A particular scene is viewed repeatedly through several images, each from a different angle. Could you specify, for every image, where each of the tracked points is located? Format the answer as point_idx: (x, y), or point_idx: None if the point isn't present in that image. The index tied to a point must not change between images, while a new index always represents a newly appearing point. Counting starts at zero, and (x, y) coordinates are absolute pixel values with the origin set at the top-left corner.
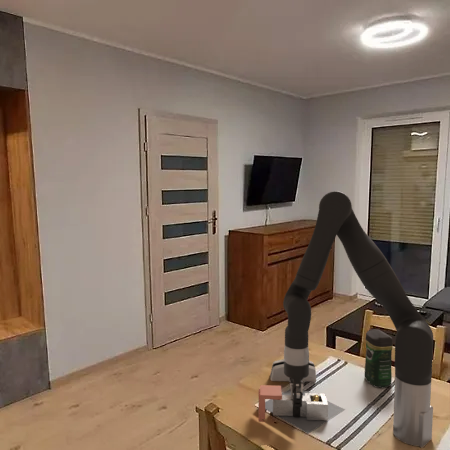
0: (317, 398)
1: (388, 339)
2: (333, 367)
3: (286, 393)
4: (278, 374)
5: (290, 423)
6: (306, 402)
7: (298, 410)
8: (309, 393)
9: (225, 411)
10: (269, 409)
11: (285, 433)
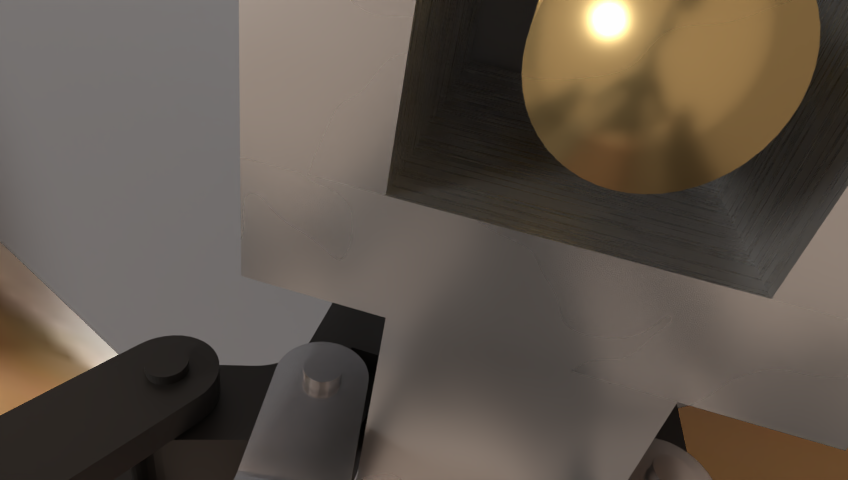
0: (790, 35)
1: None
2: None
3: (3, 209)
4: None
5: (683, 404)
6: (705, 388)
7: (673, 419)
8: (262, 156)
9: None
10: (357, 471)
11: (797, 468)
